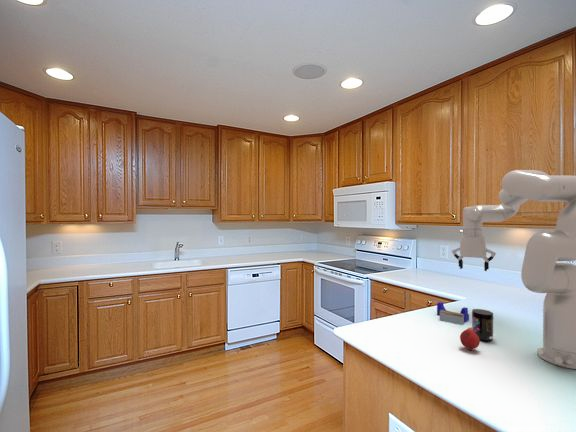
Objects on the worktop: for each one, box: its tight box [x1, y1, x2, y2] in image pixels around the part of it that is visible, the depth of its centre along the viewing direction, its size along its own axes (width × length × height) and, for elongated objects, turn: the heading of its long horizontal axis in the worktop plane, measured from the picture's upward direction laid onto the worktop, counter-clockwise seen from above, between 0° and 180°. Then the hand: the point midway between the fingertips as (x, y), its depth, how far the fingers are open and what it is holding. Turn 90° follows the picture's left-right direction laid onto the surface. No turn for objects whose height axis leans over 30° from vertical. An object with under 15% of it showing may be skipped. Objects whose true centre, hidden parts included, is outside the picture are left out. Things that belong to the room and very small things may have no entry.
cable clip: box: [436, 301, 470, 323], centre depth 132 cm, size 12×4×6 cm, turn 39°
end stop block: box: [439, 309, 465, 326], centre depth 127 cm, size 3×9×4 cm, turn 49°
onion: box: [459, 326, 481, 351], centre depth 100 cm, size 6×6×8 cm
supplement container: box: [471, 308, 494, 343], centre depth 109 cm, size 7×7×10 cm
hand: (473, 269), depth 134 cm, fingers open, 9 cm apart
